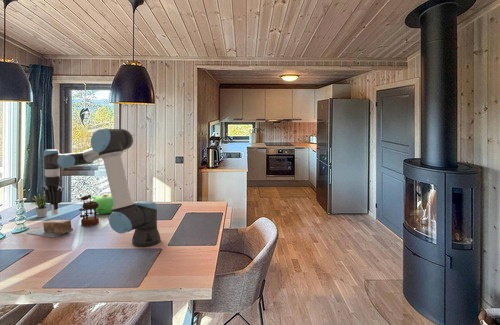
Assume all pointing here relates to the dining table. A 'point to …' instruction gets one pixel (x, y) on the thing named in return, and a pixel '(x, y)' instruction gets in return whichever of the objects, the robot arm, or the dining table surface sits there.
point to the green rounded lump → (104, 203)
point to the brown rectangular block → (57, 226)
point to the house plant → (41, 206)
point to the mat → (44, 233)
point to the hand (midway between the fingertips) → (54, 214)
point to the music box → (92, 219)
